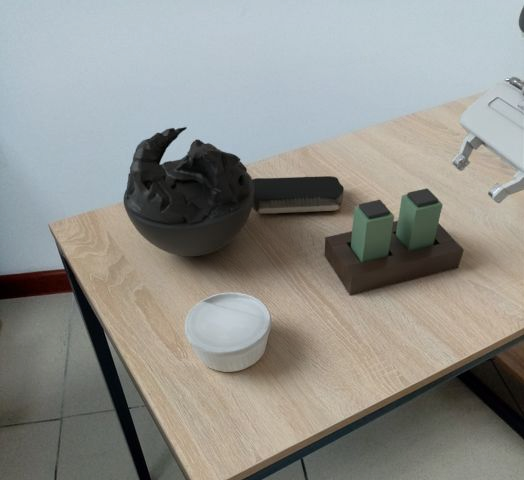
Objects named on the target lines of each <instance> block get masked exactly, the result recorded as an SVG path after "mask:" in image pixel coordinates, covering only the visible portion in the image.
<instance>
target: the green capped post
mask: <svg viewBox="0 0 524 480" xmlns="http://www.w3.org/2000/svg"><path fill="white" fill-rule="evenodd" d="M443 204H444V203H442V202H441V200H440V199H439V198H438V197H437V196H436V195H435V194H434V193H433V192H432V191H431V190H430V189H429V188H422V189H418V190H413V191H408V192H407V194H402V195H401V200H400V207H399V212H398V218H397V221H398V224H397V230H396V237H397V238H398V239H399V241H400V242H401V243H402V244H403V245H404V247H405V248H406V249H407V250H408V252H409V251H413V250H417V249H421V248H425V247H430V246H433V244H434V240H435V235H436V231H437V227H438V223H439V221H440V217H441V213H442V209H443Z"/></svg>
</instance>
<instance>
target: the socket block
mask: <svg viewBox="0 0 524 480" xmlns="http://www.w3.org/2000/svg"><path fill="white" fill-rule="evenodd" d="M397 224H398V220H394V221H393V227H392V234H391V240H390V246H389V253H388V257H384V258H380V259H376V260H371V261H367V262H363V263H360V262H359V260H358V259H357V257H356V256H355V255H354V253H353V252H352V250H351V239H352V230H351V231H347V232H343V233H338V234H334V235H333V234H332V235H329V236H325V237H324V253H323V254H324V257H325V259H326V260H327V262H328V263H329V265H330V267H331V268H332V269H333V271H334V273H335V274H336V276H337V278H338V279H339V280H340V282H341V284H342V285H343V287H344V288H345V290H346V291H347V293H348V295H349V296H353V295H357V294H361V293H365V292H369V291H374V290H376V289H380V288H384V287H388V286H392V285H393V286H394V285H396V284H400V283H404V282H409V281H412V280H417V279H421V278H425V277H429V276H431V275H436V274H440V273H444V272H447V271H452V270H456V269H459V267H460V264H461V260H462V259H463V255H464V254H463V253H464V248H463V247H462V246H461V245H460V244H459V242H457V241H456V239H454V237H453V236H452V235H451V234H450V233H448V231H447V230H446V229H445V228H444V227H443V226H442V225H441V224H440V223H439V222H438V227H437V231H436V235H435V240H434V244H433V246H430V247H425V248H421V249H417V250H413V251H409V252H408V250H407V249H406V248H405V247H404V245H403V244H402V243H401V242H400V241H399V239H398V238H397V237H396V230H397Z"/></svg>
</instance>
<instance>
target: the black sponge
mask: <svg viewBox="0 0 524 480" xmlns="http://www.w3.org/2000/svg"><path fill="white" fill-rule="evenodd" d="M252 180H253V183H254V201H253V206H252V209H253V210H254V212H255V213H257V214H286V213H287V214H288V213H308V212H309V213H311V212H330V211H332V212H333V211H337V210H339V209H340V208H341V207H342V204H343V198H344V191H345V188H344V186H343V185H342V184H341V183H340V181H339V180H340V179H338V177H336V176H331V175H327V176H326V175H325V176H323V175H321V176H320V175H319V176H295V177H294V176H292V177H291V176H290V177H265V178H264V177H257V178H252Z"/></svg>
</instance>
